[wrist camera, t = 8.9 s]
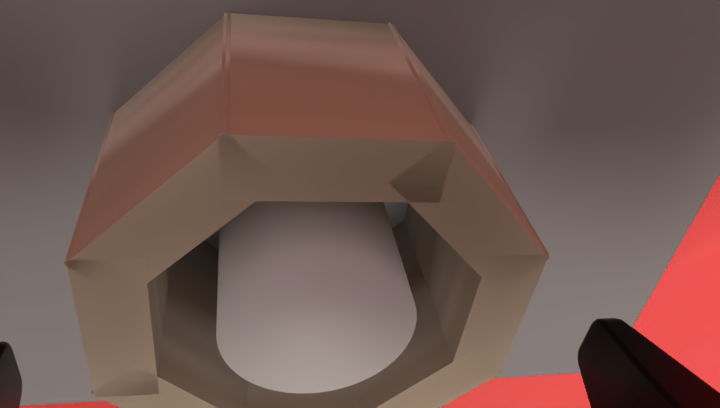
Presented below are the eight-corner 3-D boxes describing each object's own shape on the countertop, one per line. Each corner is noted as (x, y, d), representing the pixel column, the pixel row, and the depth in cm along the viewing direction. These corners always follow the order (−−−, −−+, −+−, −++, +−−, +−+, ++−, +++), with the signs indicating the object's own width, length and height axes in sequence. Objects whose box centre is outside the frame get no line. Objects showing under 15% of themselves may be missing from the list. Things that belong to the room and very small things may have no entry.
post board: (586, 334, 20) (680, 497, 16) (-101, 364, 16) (-220, 593, 12) (831, -150, 12) (1163, -79, 8) (-449, -327, 8) (-1240, -384, 4)
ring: (427, 296, 16) (474, 438, 13) (134, 303, 14) (106, 465, 11) (499, 29, 12) (597, 143, 8) (96, 2, 10) (34, 126, 7)
